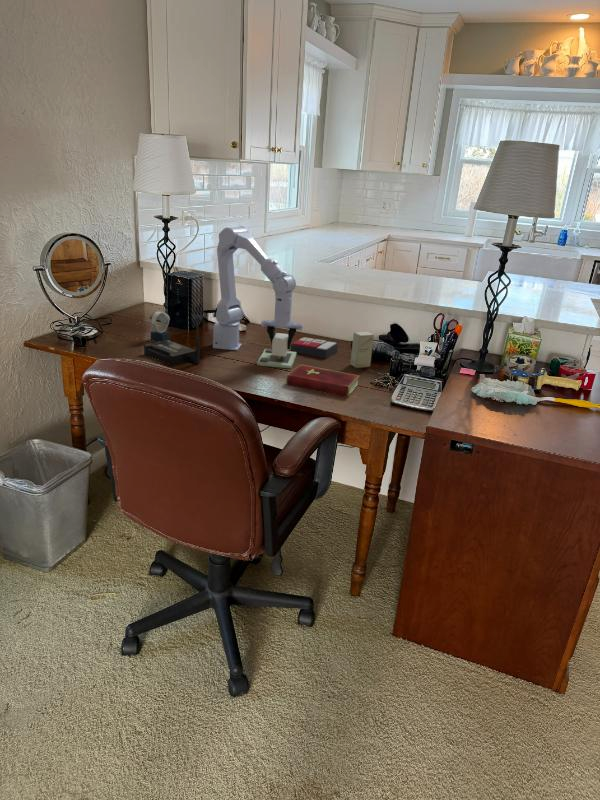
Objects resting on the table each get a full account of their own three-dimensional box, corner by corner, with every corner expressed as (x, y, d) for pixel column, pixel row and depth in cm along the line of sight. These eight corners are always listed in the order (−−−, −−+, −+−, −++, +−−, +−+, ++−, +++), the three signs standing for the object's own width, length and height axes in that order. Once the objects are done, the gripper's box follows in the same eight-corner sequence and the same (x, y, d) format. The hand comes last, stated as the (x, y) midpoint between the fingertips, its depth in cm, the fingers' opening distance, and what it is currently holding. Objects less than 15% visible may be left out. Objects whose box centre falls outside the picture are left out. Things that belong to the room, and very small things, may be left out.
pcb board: (257, 365, 195) (257, 354, 194) (264, 351, 210) (265, 341, 208) (290, 368, 194) (291, 357, 193) (296, 354, 209) (297, 344, 208)
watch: (172, 338, 217) (172, 311, 212) (159, 343, 210) (158, 315, 206) (160, 336, 219) (160, 308, 214) (147, 341, 212) (146, 312, 208)
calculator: (303, 336, 221) (338, 341, 215) (303, 346, 222) (337, 352, 216) (290, 342, 212) (326, 348, 205) (290, 353, 213) (326, 359, 207)
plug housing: (271, 355, 197) (272, 339, 195) (275, 347, 205) (276, 332, 203) (285, 356, 196) (286, 341, 194) (289, 348, 205) (290, 334, 203)
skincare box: (356, 368, 199) (359, 335, 195) (349, 364, 203) (353, 332, 198) (370, 366, 202) (374, 334, 198) (363, 362, 206) (367, 330, 201)
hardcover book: (348, 399, 174) (349, 386, 172) (285, 386, 180) (286, 373, 178) (358, 386, 184) (359, 374, 182) (299, 375, 191) (300, 363, 189)
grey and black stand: (140, 356, 197) (138, 308, 190) (171, 348, 207) (170, 303, 200) (176, 371, 185) (175, 321, 179) (208, 362, 195) (208, 315, 189)
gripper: (260, 311, 192) (258, 348, 197) (302, 315, 191) (299, 353, 196) (264, 306, 198) (262, 343, 204) (304, 310, 197) (301, 347, 203)
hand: (280, 347), depth 200 cm, fingers closed on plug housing, 5 cm apart
